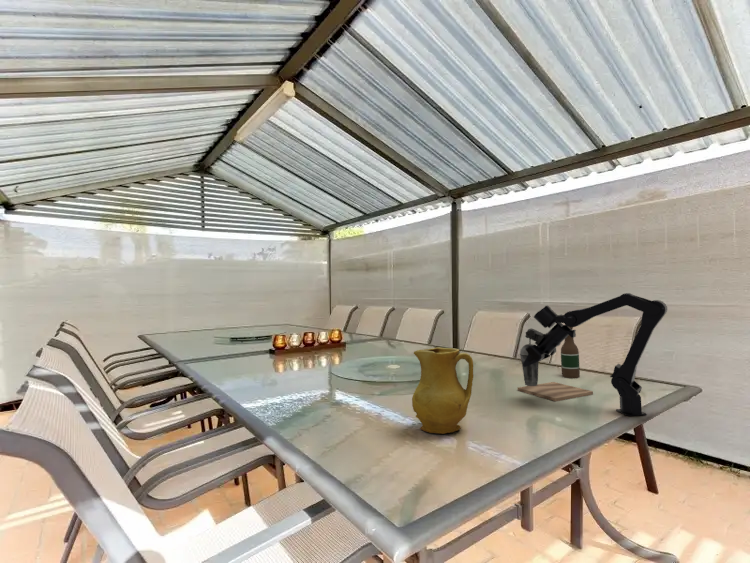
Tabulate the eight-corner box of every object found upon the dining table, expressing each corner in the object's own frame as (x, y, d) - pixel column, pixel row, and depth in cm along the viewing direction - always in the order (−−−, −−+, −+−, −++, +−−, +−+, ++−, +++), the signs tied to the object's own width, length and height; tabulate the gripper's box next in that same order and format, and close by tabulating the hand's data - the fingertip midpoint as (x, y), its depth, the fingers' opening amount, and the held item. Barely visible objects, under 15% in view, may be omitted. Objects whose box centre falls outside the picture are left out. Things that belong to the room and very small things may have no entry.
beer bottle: (558, 376, 199) (555, 325, 199) (569, 374, 202) (567, 324, 203) (572, 379, 192) (569, 327, 192) (583, 377, 195) (581, 325, 196)
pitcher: (431, 417, 144) (428, 344, 144) (481, 426, 132) (478, 347, 132) (402, 431, 130) (398, 351, 131) (455, 443, 118) (451, 355, 119)
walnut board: (593, 394, 165) (592, 391, 165) (555, 401, 157) (555, 398, 157) (553, 384, 183) (553, 381, 183) (517, 390, 175) (517, 387, 175)
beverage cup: (517, 385, 161) (515, 333, 161) (526, 381, 166) (523, 331, 166) (536, 387, 156) (533, 334, 156) (544, 384, 161) (541, 332, 161)
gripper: (546, 319, 166) (520, 346, 173) (529, 323, 152) (502, 352, 158) (568, 340, 161) (540, 366, 168) (553, 346, 146) (523, 375, 153)
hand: (526, 364), depth 162 cm, fingers closed on beverage cup, 7 cm apart
